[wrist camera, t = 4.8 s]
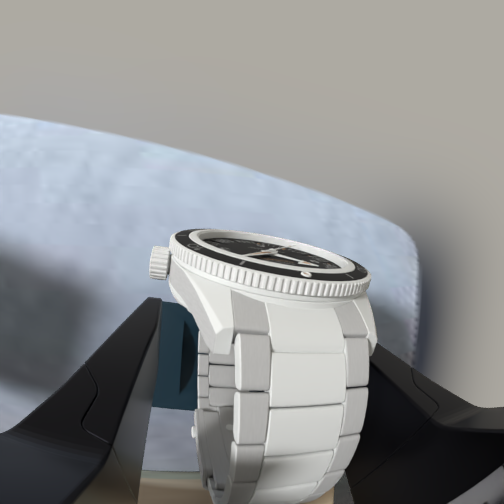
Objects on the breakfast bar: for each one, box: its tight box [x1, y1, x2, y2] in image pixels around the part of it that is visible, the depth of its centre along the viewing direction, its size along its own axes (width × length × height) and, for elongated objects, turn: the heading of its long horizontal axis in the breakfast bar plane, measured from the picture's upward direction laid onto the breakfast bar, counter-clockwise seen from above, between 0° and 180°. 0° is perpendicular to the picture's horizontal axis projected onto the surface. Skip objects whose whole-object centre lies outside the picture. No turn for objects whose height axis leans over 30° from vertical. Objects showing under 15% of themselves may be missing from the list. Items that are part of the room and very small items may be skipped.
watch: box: [149, 229, 378, 504], centre depth 9 cm, size 6×8×11 cm
